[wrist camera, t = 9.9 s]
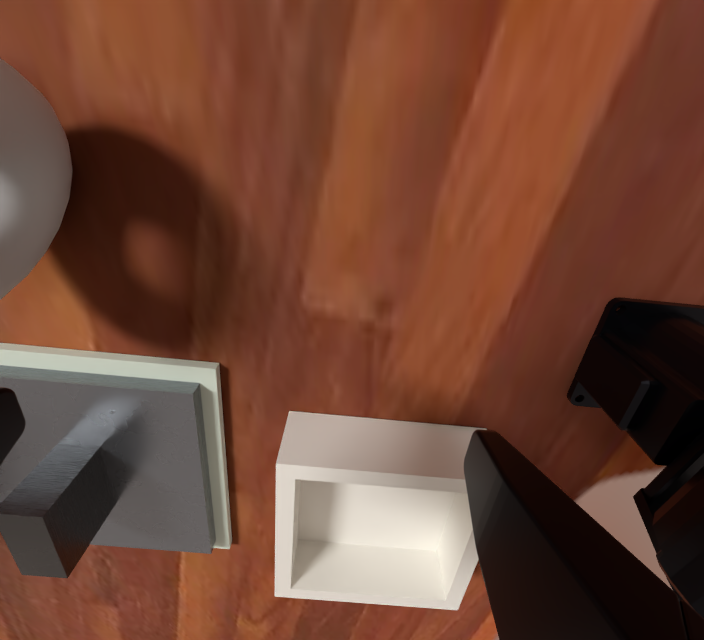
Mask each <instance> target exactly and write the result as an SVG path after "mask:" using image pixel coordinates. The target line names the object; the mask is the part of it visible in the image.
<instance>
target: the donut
mask: <svg viewBox="0 0 704 640" xmlns="http://www.w3.org/2000/svg"><path fill="white" fill-rule="evenodd" d="M72 172H73V169H72V163H71V156H70V149H69V143H68V140H67V137H66V134H65V132H64V130H63V128H62V126H61V124H60V122H59V120H58V118H57V116H56V114H55V112H54V110H53V108H52V106H51V105H50V103H49V102H48V101H47V100H46V98H45V97H44V96H43V94H42V93H41V92H40V91H38V90H37V89H36V88H35V87H34V86H33V85H32V84H31V83H30V82H29V81H28V80H26V79H25V78H24V77H23V76H22V75H21V74H20V73H19V72H18V71H17V70H15V69H14V68H13V67H12V66H10V65H9V64H8V63H6V62H5V61H4V60H2V59H1V58H0V300H1V299H2V298H3V297H4V296H5V295H6V294H7V293H8V292H10V291H11V290H12V289H13V288H14V287H15V286H16V285H17V284H18V283H20V282H21V281H22V280H23V279H24V278H25V277H26V276H27V275H28V274H29V273H30V272H31V270H32V269H33V268H34V267H35V265H36V264H37V263H38V262H39V260H40V259H41V258H42V256H43V255H44V254H45V253H46V251H47V250H48V248H49V246H50V244H51V242H52V240H53V239H54V237H55V235H56V233H57V231H58V230H59V228H60V225H61V222H62V219H63V216H64V213H65V210H66V207H67V204H68V201H69V198H70V189H71V181H72Z"/></svg>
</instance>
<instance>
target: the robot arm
mask: <svg viewBox="0 0 704 640" xmlns="http://www.w3.org/2000/svg"><path fill="white" fill-rule="evenodd" d="M619 306H621V308H620V309H619V310H617V311H616V308H617V307H619ZM578 395H580V396H579V397H577V396H578ZM576 397H577V398H576ZM567 398H568V399H569V401H570V402H571V403H572V404H573V405H576V406H586V407H597V408H602V409H603V411H604V412H605V413H606V414H607V415H608V416H609V417H610V419H611V420H612V421H613V422H614V423H615V424H616V426H617V427H618V428H619V429H620V430H624V431H626V432H627V433H628V434H629V435H630V436H631V437H632V438H633V440H634V441H635V442H636V443H637V444H638V445H639V446H640V447H641V449H642V450H643V451H644V452H645V453H646V454H647V455H648V457H649V458H650V459H651V460H652V461H653V462H654V463H655V464H657V465H665V466H666V467H665V468H664V469H663V470H662V471H661V472H660V473H659V475H658V476H657V477H656V478H655V479H654V480H653V481H652V482H651V483H650V484H649V485H648V486H647V487H646V488H645V489H644V488H641V489H640V490H639V491H638V492H637V493H636V494H635V495H634V496H633V498H634V500H635V503H636V505H637V508H638V510H639V512H640V515H641V517H642V519H643V522H644V524H645V527H646V529H647V532H648V534H649V536H650V539H651V541H652V544H653V546H654V548H655V551H656V553H657V554H656V557H657V560H658V563H659V565H660V567H661V569H662V570H663V572H664V573H665V575H666V577H667V579H668V581H669V583H670V585H671V587H672V589H673V590H672V589H671V588H669V587H668V586H667V585H666V584H665V583H664V582H663V581H662V580H660V579H659V578H658V577H657V576H656V575H655V574H654V573H653V572H652V571H651V570H649V569H648V568H647V567H646V566H645V565H644V564H643V563H642V562H641V561H640V560H638V559H637V558H636V557H635V556H634V555H633V554H632V553H631V552H630V551H628V550H627V549H626V548H625V547H624V546H623V545H622V544H621V543H620V542H618V541H617V540H616V539H615V538H614V537H613V536H612V535H611V534H610V533H609V532H607V531H606V530H605V529H604V528H603V527H602V526H601V525H600V524H599V523H597V522H596V521H595V520H594V519H593V518H592V517H591V516H590V515H589V514H587V513H586V512H585V511H584V510H583V509H582V508H581V507H580V506H579V505H577V504H576V503H575V502H574V501H573V500H572V499H571V498H570V497H569V496H568V495H566V494H565V493H564V492H563V491H562V490H561V489H560V488H559V487H558V486H556V485H555V484H554V483H553V482H552V481H551V480H550V479H549V478H548V477H546V476H545V475H544V474H543V473H542V472H541V471H540V470H539V469H538V468H536V467H535V466H534V465H533V464H532V463H531V462H530V461H529V460H528V459H527V458H525V457H524V456H523V455H522V454H521V453H520V452H519V451H518V450H517V449H515V448H514V447H513V446H512V445H511V444H510V443H509V442H508V441H507V440H505V439H504V438H503V437H502V436H501V435H500V434H499V433H497V432H496V431H492V430H480V429H477V430H475V431H474V432H473V434H472V436H471V439H470V442H469V446H468V449H467V452H466V455H465V458H464V475H465V482H466V488H467V495H468V501H469V508H470V514H471V521H472V527H473V534H474V540H475V545H476V550H477V555H478V559H479V563H480V567H481V571H482V575H483V578H484V582H485V586H486V590H487V594H488V597H489V601H490V605H491V609H492V613H493V617H494V620H495V624H496V628H497V632H498V636H499V640H704V306H700V305H690V304H680V303H670V302H660V301H650V300H640V299H630V298H614V299H612V300H611V301H609V302H608V304H607V305H606V307H605V310H604V312H603V314H602V316H601V319H600V321H599V323H598V325H597V328H596V330H595V332H594V334H593V337H592V338H591V340H590V342H589V345H588V347H587V349H586V352H585V354H584V356H583V358H582V361H581V363H580V365H579V367H578V370H577V372H576V374H575V377H574V380H573V382H572V384H571V386H570V389H569V391H568V393H567ZM25 425H26V421H25V417H24V415H23V412H22V409H21V407H20V404H19V401H18V399H17V396H16V394H15V392H14V391H13V390H12V389H9V388H5V387H0V465H1V464H2V463H3V461H4V460H5V458H6V457H7V455H8V454H9V452H10V451H11V450H12V448H13V447H14V445H15V444H16V442H17V441H18V440H19V438H20V437H21V435H22V434H23V432H24V429H25Z"/></svg>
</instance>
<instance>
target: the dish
mask: <svg viewBox="0 0 704 640" xmlns="http://www.w3.org/2000/svg"><path fill="white" fill-rule="evenodd" d="M477 429H480V430H487V429H486V428H475V427H464V426H453V425H441V424H430V423H419V422H408V421H396V420H385V419H374V418H363V417H351V416H340V415H329V414H318V413H307V412H295V411H289V414H288V418H287V422H286V426H285V430H284V434H283V438H282V442H281V446H280V450H279V454H278V458H277V462H276V522H275V596H276V597H289V598H303V599H316V600H329V601H342V602H356V603H369V604H382V605H395V606H409V607H422V608H435V609H448V610H458V608H459V606H460V603H461V601H462V598H463V596H464V594H465V591H466V589H467V586H468V584H469V581H470V579H471V577H472V574H473V572H474V569H475V567H476V564H477V562H478V560H479V559H478V555H477V550H476V545H475V540H474V534H473V527H472V521H471V514H470V508H469V501H468V495H467V488H466V482H465V475H464V458H465V455H466V452H467V449H468V446H469V442H470V439H471V436H472V434H473V432H474V431H475V430H477Z"/></svg>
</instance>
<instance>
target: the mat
mask: <svg viewBox="0 0 704 640" xmlns="http://www.w3.org/2000/svg"><path fill="white" fill-rule="evenodd" d="M0 365H5V366H16V367H27V368H38V369H49V370H60V371H72V372H83V373H94V374H105V375H116V376H127V377H138V378H150V379H161V380H172V381H183V382H194V383H200V390H201V399H202V409H203V419H204V428H205V438H206V448H207V457H208V467H209V476H210V486H211V496H212V505H213V515H214V525H215V534H216V542H215V544H214V547H213V548H223V549H230V546H231V543H232V532H231V519H230V505H229V491H228V477H227V463H226V450H225V436H224V422H223V408H222V394H221V381H220V367H219V363H214V362H203V361H193V360H182V359H171V358H160V357H149V356H138V355H127V354H116V353H106V352H95V351H84V350H73V349H62V348H51V347H40V346H29V345H19V344H8V343H0Z"/></svg>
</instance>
